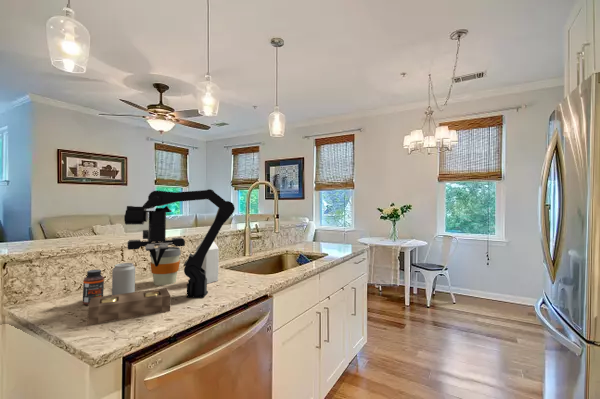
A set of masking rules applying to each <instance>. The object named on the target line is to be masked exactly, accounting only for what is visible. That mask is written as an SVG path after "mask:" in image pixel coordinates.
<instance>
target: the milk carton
mask: <svg viewBox="0 0 600 399" xmlns="http://www.w3.org/2000/svg"><path fill="white" fill-rule="evenodd" d="M202 241H203V239H202V240H201V241H200V244H199V245H198V246H197V247H196V248H195V252H196V251H197V250H198V248H199V246H200V245H201V243H202ZM219 253H220V248H219V247H218V245H217V243H216V242H215V240H214V241H213V243H212V245H211V247H210V248H209V250H208V252H207V254H206V255H205V258H204V261H203V264H202V268H203V269H204V270H205V271H206V278H207V285H208V284H212V283H215V282H217V281H219V262H220V260H219V258H220V257H219Z"/></svg>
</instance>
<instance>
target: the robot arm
mask: <svg viewBox="0 0 600 399" xmlns="http://www.w3.org/2000/svg"><path fill="white" fill-rule="evenodd" d="M147 197H148V198H147V200H146V202H145V203H144V204H143V205H141V206H134V205H127V206H126V210H125V214H124V215H123V216H124V217H123V218H124V220H123V221H124V224H125V225H126V226H127V225H132V226H134V225H135V226H136V225H137V226H138V225H140V226H141V225H145V223H147V222H148V229H143V230H142V240H143V241H141V239H129V240H128V241H127V244H126V245H127V250H129V251H130V250H139V249H140V248H141V247H145V248H144V249H145V251H146V252H149V254H150V253H151V255H152V258H153V261H154V264H155V267H158V265H159V262H160V260H161V257H162V255H163V254H164V252H165V250H167V249H168V247H169V246H170V245H171V246H174V247H185V245H186V240H185V239H184V238H183V237H172V238H171V239H166V233H167V232H166V230H167V228H166V227H167V213H172V212H173V211H172V209H170V208H169V206H168V205H169V204H173V203H177V202H178V203H179V202H190V201H202V200H203V201H204V200H209V201H210V202H211V203H212V204H213V205H215V206H216V207H217V212H216V213H215V214H216V215H215V217H214V220H213V222H212V224H211V226H210V227H209V229H208V231H207V232H206V234H205V236H204V238H203V239H202V240H203V241H202V243H201V242H200V244H201V245H200V244H199V245H200V246H199V245H198V246H199V248H198V250H197V251H196V250H195V252H194V253H193V254H192V253H189V255H188V258H187V259H186V260H185V261H184V264H183V267H184V268H183V272H184V275H185V276H186V277H187V278H188V280H187V281H188V282H187V284H186V296H185V297H186V298H191V299H192V298H193V299H194V298H203V299H204V298H205V296H207V294H208V293H209V291H208V290H207V289H208V284H207V278H206V271H205V270H204V269H203V268H202V264H203V261H204V258H205V255H206V254H207V252H208V250H209V248H210V247H211V245H212V243H213V241H214V242H215V240H216V238H217V236H218V234H219V232H220V231H221V228H222V227H223V226H224V224H225V223H226V221H228V220H229V219H230V217H231V216H232V215H233V213H235V209H236V208H235V205H234V203H232V201H230V200H229V201H228V200H225V199H224V198H222V197H221V196H220V195H219V194H217V193H216V192H215V191H214V190H213V189H212V188H211V189H209V188H208V189H204V190H190V191H165V190H152V191H151V192H150V193H149V194H148V196H147ZM162 206H165V207H162ZM153 208H155V209H154V210H152V209H153ZM149 209H151V210H149ZM156 247H157V248H158V254H157V260H156V249H155V248H156Z"/></svg>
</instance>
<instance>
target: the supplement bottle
mask: <svg viewBox="0 0 600 399" xmlns="http://www.w3.org/2000/svg"><path fill="white" fill-rule="evenodd" d="M86 272H87V274H86V277H84V279H83V283H82V286H83V287H82V289H83V290H82V305H86V306H89V303H90V300H91V298H94V297H102V296H104V286H105V277H104V276H103V275H102V270H101V269H91V270H88V271H86Z"/></svg>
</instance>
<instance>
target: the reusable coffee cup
mask: <svg viewBox="0 0 600 399" xmlns="http://www.w3.org/2000/svg"><path fill="white" fill-rule="evenodd" d="M154 248H155V249H156V260H157V254H158V247H154ZM181 254H182V253H181V248H180V246H178V247H176V246H168V249H167V250H165V252H164V254H163V255H162V257H161V260H160V262H159V265H158V267H155V264H154V261H153V258H152V255H151V253H150V252H149V257H150V263H149V264H150V272H151V274H152V279H153V280H152V281H153V285H155V286H167V285H172V284H175V283H176V282H177V276H178V272H179V270H180V262H181V260H180V256H181Z"/></svg>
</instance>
